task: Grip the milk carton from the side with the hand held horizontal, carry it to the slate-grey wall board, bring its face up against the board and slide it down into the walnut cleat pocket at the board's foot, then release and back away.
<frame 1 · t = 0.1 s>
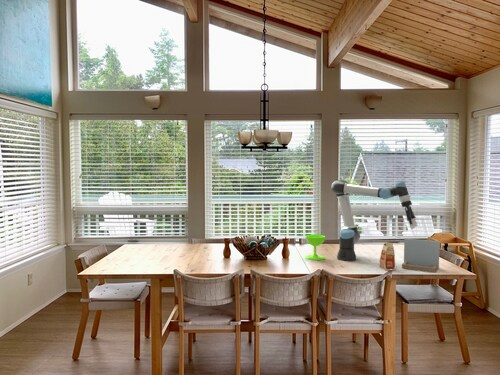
hand: (414, 227, 300), 28 cm above the table, tool tilted 20°, fingers open, 13 cm apart
wineglass: (314, 258, 317), on the table
wall board: (419, 268, 285), on the table
milk carton: (387, 268, 283), on the table
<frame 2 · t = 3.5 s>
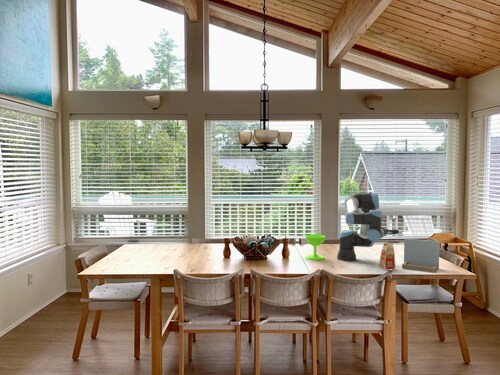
hand: (385, 229, 274), 30 cm above the table, tool horizontal, fingers open, 13 cm apart
nothing on the table moved.
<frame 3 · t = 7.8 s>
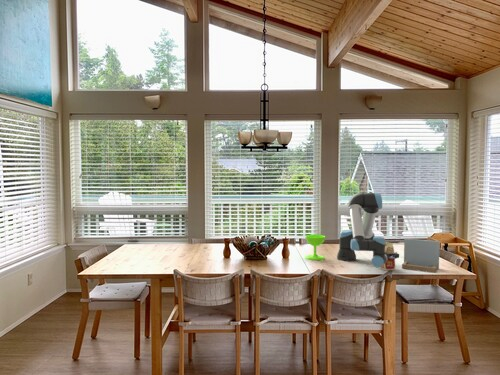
hand: (389, 252, 286), 11 cm above the table, tool horizontal, fingers closed on milk carton, 9 cm apart
milk carton: (387, 268, 283), on the table, touching gripper
everything else where it was.
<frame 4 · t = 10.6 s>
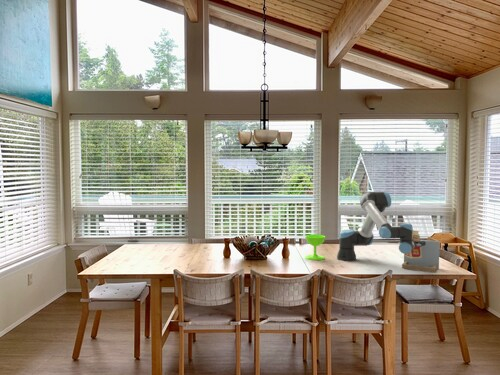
hand: (414, 240, 285), 20 cm above the table, tool horizontal, fingers closed on milk carton, 9 cm apart
milk carton: (413, 257, 281), point 9 cm above the table, touching gripper
everything else where it was.
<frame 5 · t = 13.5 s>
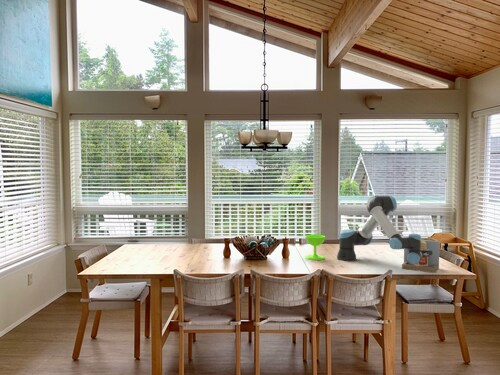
hand: (421, 249, 289), 13 cm above the table, tool horizontal, fingers closed on milk carton, 9 cm apart
milk carton: (419, 265, 285), point 2 cm above the table, touching gripper, wall board
everything else where it was.
when the fingers open (13 cm above the table, at t = 14.0 s): milk carton stays where it is, resting on wall board.
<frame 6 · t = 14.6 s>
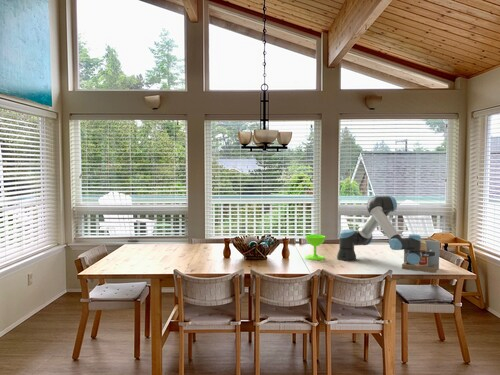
hand: (420, 250, 288), 13 cm above the table, tool horizontal, fingers open, 13 cm apart
milk carton: (419, 265, 285), point 2 cm above the table, touching wall board
everything else where it was.
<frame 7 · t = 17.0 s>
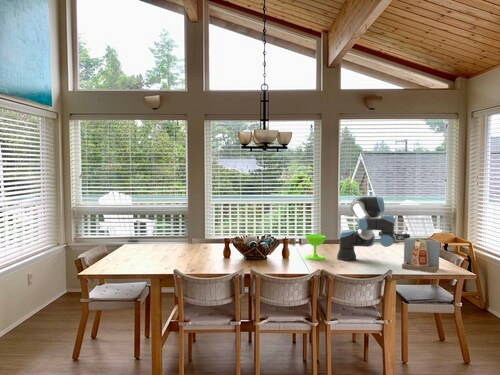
hand: (396, 233, 272), 27 cm above the table, tool horizontal, fingers open, 13 cm apart
nothing on the table moved.
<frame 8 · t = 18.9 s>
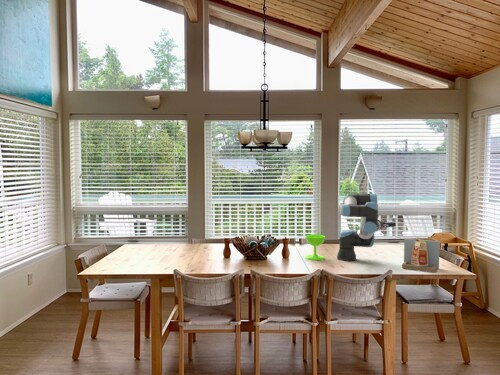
hand: (382, 222, 272), 35 cm above the table, tool horizontal, fingers open, 13 cm apart
nothing on the table moved.
at the end: milk carton 0.2 cm from the wall board (horizontally); milk carton tilted 4°; the gripper is holding nothing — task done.
